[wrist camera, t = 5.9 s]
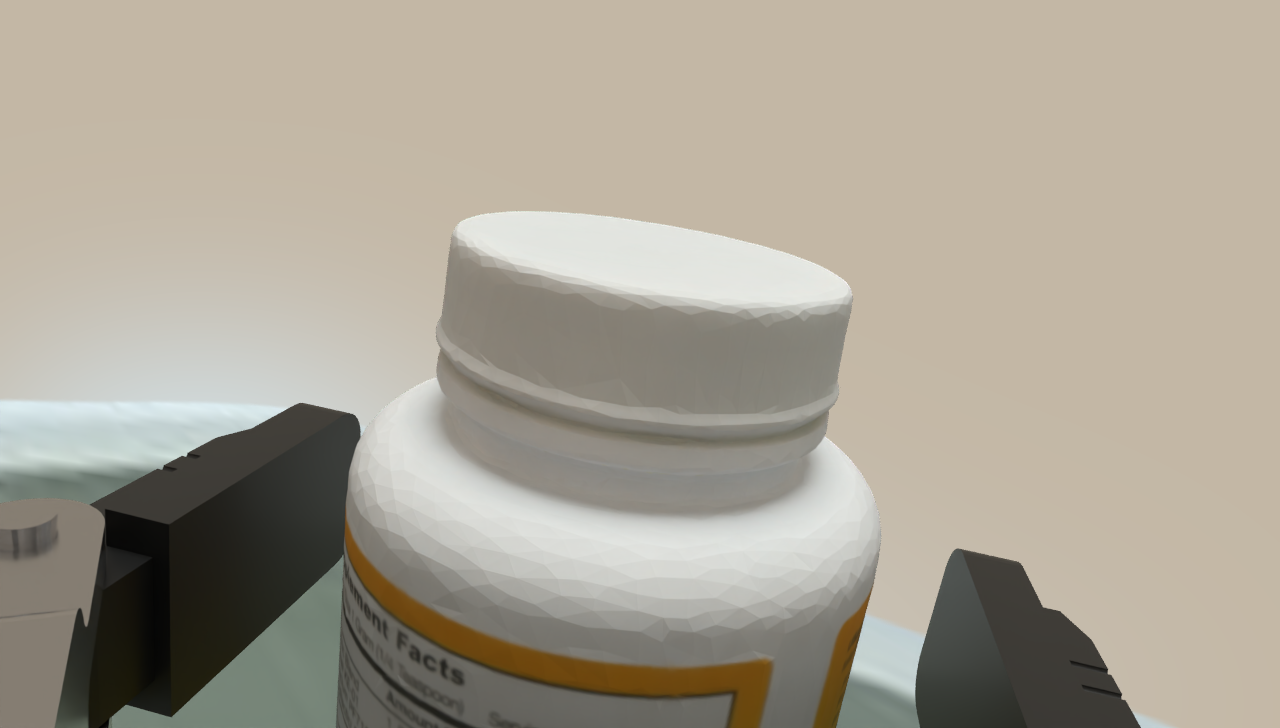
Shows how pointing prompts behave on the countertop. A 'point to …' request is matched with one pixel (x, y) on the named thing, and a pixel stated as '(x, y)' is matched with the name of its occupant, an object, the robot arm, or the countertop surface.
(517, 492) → the supplement bottle
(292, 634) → the countertop surface
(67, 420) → the countertop surface
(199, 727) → the countertop surface
